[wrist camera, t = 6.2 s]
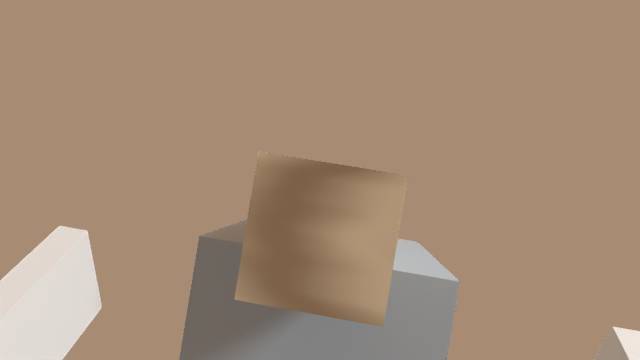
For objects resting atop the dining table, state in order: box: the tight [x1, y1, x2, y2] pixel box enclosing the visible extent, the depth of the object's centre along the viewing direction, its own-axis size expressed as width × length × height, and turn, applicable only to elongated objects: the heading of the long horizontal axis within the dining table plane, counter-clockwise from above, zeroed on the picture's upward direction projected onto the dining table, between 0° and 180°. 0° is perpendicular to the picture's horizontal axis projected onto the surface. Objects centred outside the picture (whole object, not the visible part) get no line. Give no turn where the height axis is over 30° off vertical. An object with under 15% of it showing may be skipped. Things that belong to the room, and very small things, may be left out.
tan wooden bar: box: [234, 152, 408, 327], centre depth 24 cm, size 4×23×4 cm, turn 176°
